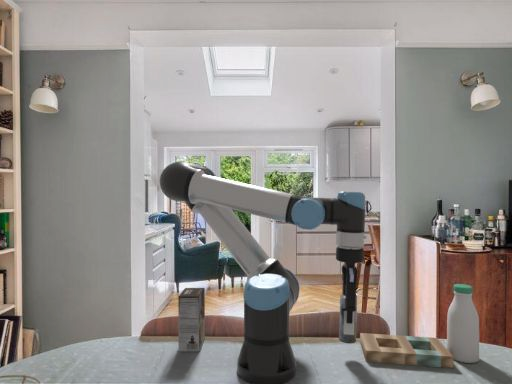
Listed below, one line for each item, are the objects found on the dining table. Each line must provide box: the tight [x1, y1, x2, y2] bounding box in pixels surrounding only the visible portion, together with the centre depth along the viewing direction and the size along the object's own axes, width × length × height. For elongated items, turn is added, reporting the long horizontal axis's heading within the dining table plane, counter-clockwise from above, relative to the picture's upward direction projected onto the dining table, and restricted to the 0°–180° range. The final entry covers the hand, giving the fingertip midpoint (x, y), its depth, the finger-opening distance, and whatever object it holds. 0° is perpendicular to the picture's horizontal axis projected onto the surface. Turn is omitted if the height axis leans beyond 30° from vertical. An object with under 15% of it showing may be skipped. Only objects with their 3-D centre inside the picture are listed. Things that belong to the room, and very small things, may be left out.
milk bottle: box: [446, 283, 480, 364], centre depth 98 cm, size 8×8×20 cm
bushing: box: [338, 294, 358, 345], centre depth 98 cm, size 5×5×12 cm
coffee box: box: [177, 287, 206, 352], centre depth 105 cm, size 9×6×16 cm
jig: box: [359, 332, 454, 369], centre depth 99 cm, size 22×12×3 cm, turn 81°
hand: (347, 330), depth 98 cm, fingers closed on bushing, 5 cm apart
